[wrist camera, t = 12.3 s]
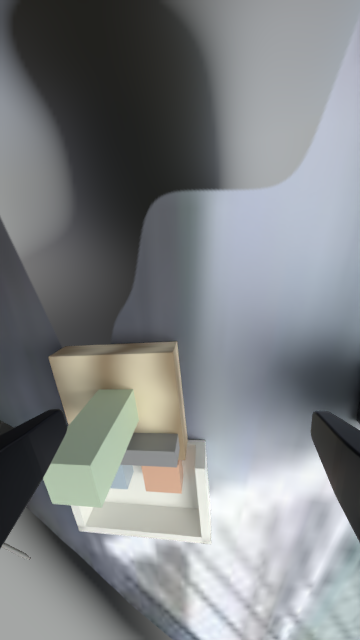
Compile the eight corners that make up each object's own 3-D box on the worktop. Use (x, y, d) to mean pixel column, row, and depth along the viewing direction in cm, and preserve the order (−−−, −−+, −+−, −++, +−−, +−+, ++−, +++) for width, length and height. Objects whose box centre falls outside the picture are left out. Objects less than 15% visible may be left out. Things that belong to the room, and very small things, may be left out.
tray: (205, 440, 23) (205, 468, 20) (210, 510, 26) (211, 544, 23) (74, 436, 25) (56, 461, 22) (93, 501, 28) (79, 531, 25)
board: (177, 341, 20) (173, 352, 18) (187, 439, 23) (185, 460, 21) (65, 346, 22) (48, 356, 19) (89, 437, 25) (77, 455, 23)
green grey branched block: (172, 388, 19) (151, 468, 12) (179, 448, 21) (165, 548, 13) (63, 389, 20) (-15, 460, 13) (79, 444, 22) (18, 532, 15)
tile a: (180, 448, 23) (178, 465, 21) (183, 475, 24) (181, 493, 22) (146, 447, 24) (140, 463, 22) (150, 473, 25) (145, 491, 23)
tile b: (128, 445, 24) (121, 461, 22) (133, 471, 25) (127, 489, 23) (96, 444, 24) (87, 460, 23) (102, 470, 26) (94, 487, 24)
